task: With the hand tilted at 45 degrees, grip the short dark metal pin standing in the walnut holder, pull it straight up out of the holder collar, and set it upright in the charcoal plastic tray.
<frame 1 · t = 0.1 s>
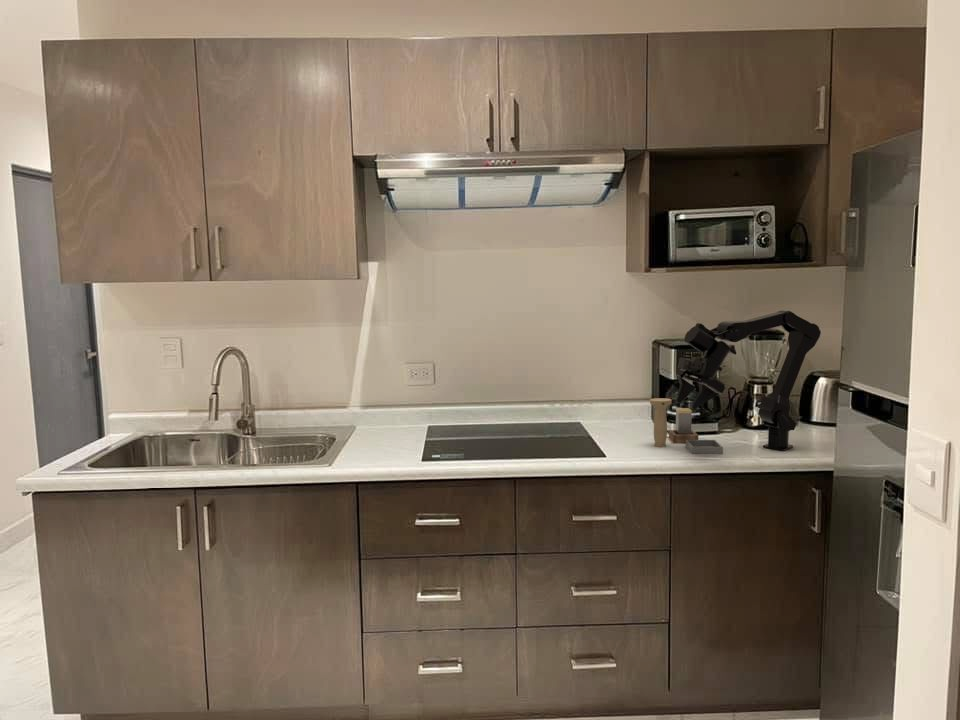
hand: (685, 405, 197), 15 cm above the worktop, tool tilted 35°, fingers open, 9 cm apart
tray: (703, 451, 202), on the worktop
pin: (683, 440, 214), resting on holder
handle: (660, 447, 208), on the worktop
holder: (683, 441, 214), on the worktop
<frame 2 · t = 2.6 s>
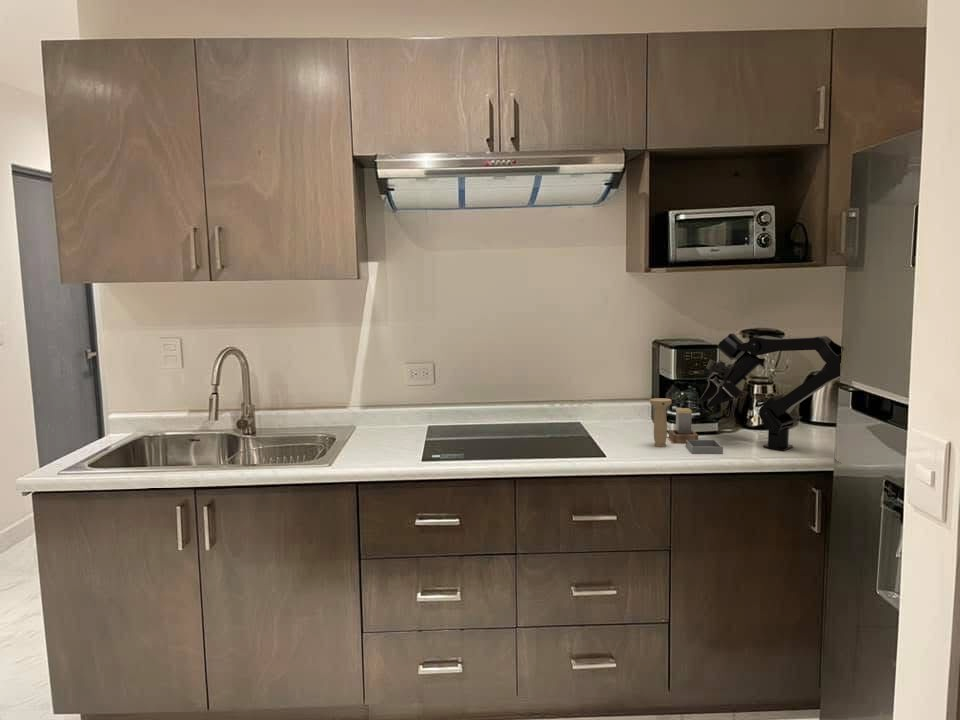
hand: (704, 403, 213), 12 cm above the worktop, tool tilted 45°, fingers open, 9 cm apart
nothing on the worktop moved.
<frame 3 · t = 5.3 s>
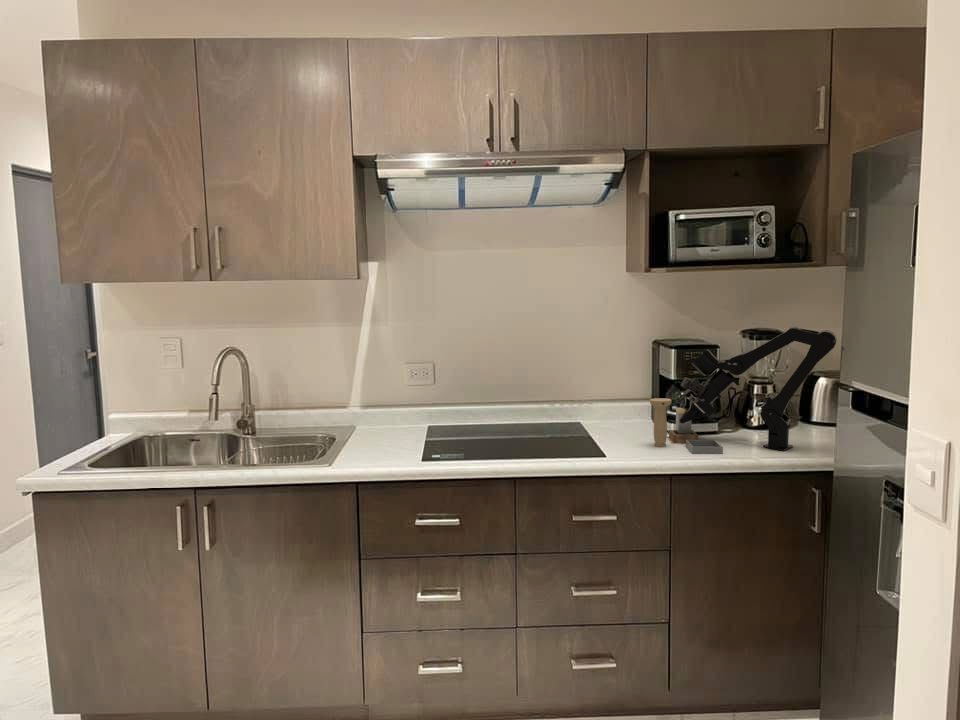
hand: (679, 420, 213), 7 cm above the worktop, tool tilted 45°, fingers closed on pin, 4 cm apart
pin: (683, 440, 214), point 1 cm above the worktop, touching gripper, holder
everything else where it was.
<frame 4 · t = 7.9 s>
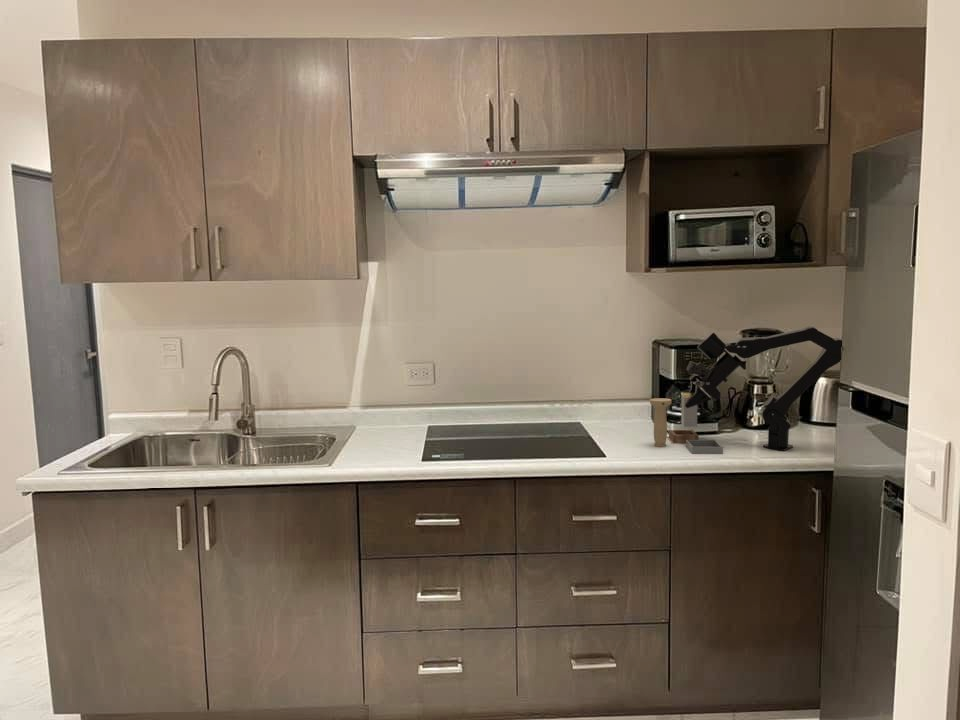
hand: (684, 405, 210), 12 cm above the worktop, tool tilted 45°, fingers closed on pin, 4 cm apart
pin: (689, 425, 210), point 6 cm above the worktop, touching gripper
everything else where it was.
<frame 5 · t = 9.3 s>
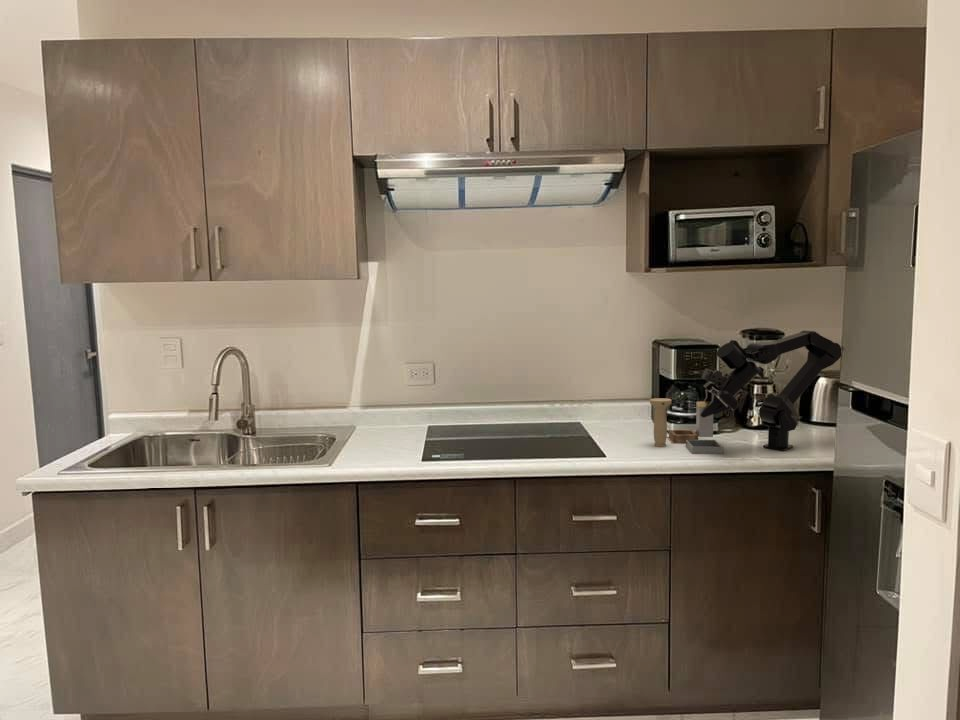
hand: (699, 415, 201), 11 cm above the worktop, tool tilted 45°, fingers closed on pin, 4 cm apart
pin: (704, 435, 201), point 5 cm above the worktop, touching gripper
everything else where it was.
when the fingers open (8 cm above the worktop, at t = 10.6 s): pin drops 1 cm, resting on tray.
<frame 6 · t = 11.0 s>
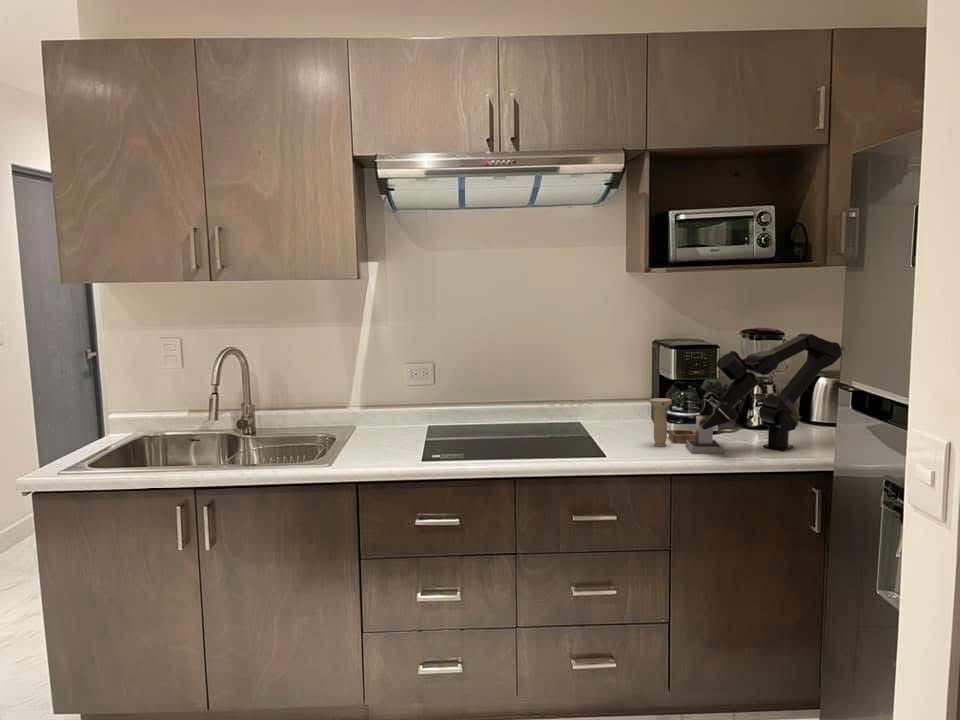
hand: (699, 425, 201), 8 cm above the worktop, tool tilted 45°, fingers open, 8 cm apart
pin: (703, 449, 202), point 1 cm above the worktop, touching tray
everything else where it was.
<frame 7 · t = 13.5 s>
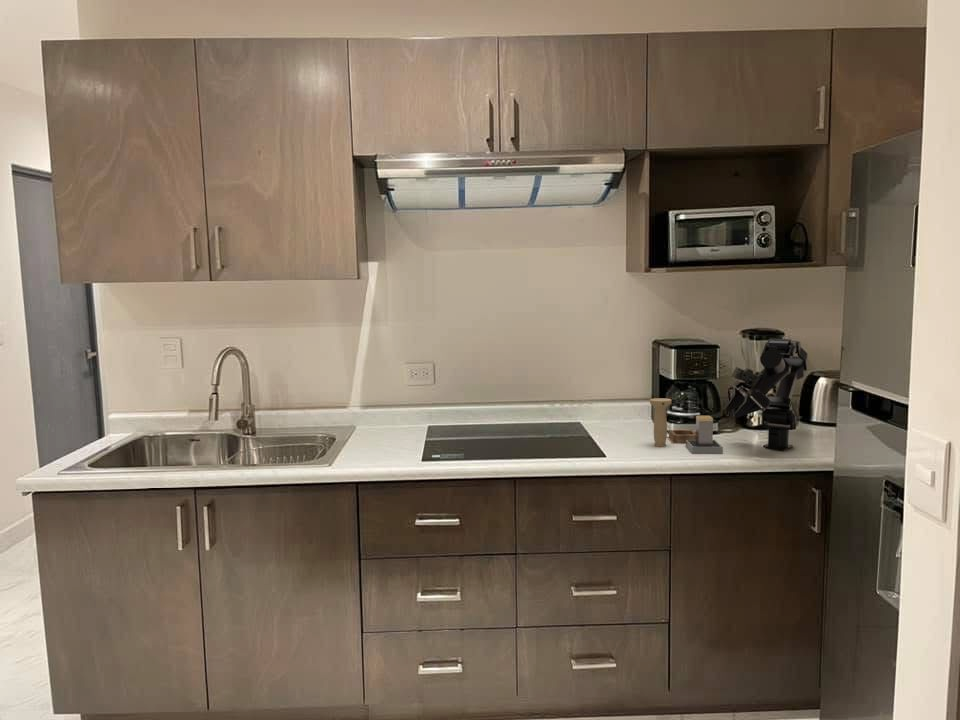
hand: (729, 413, 200), 12 cm above the worktop, tool tilted 45°, fingers open, 9 cm apart
nothing on the worktop moved.
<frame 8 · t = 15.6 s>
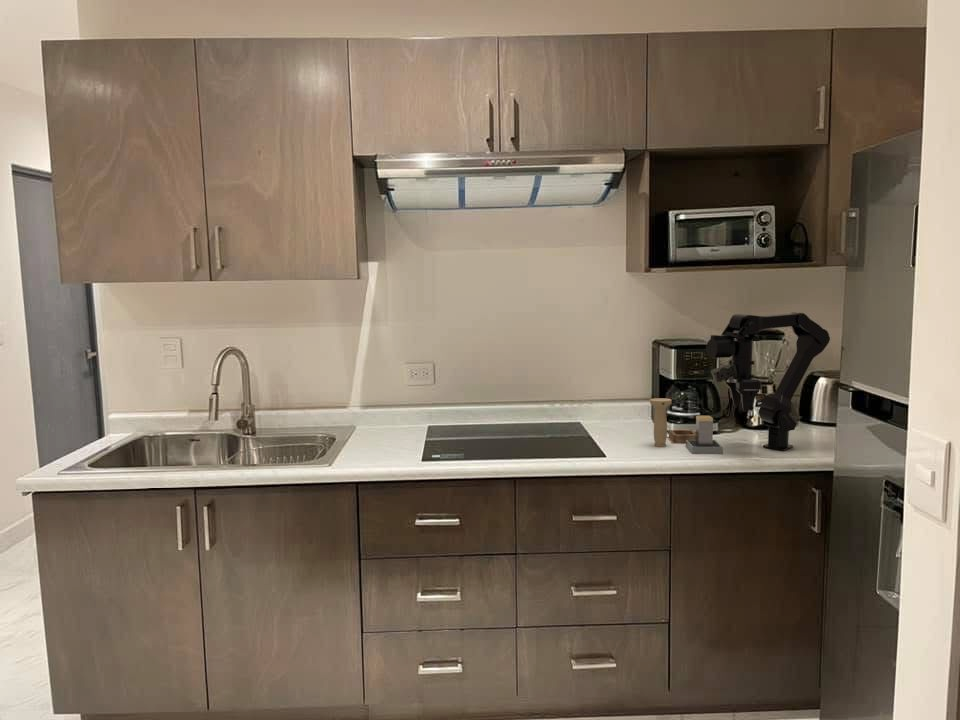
hand: (740, 408, 200), 13 cm above the worktop, tool pointing down, fingers open, 9 cm apart
nothing on the worktop moved.
at the end: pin 0.0 cm off-centre on the tray, point 0.6 cm above the tray's base; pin tilted 0°; the gripper is holding nothing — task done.
